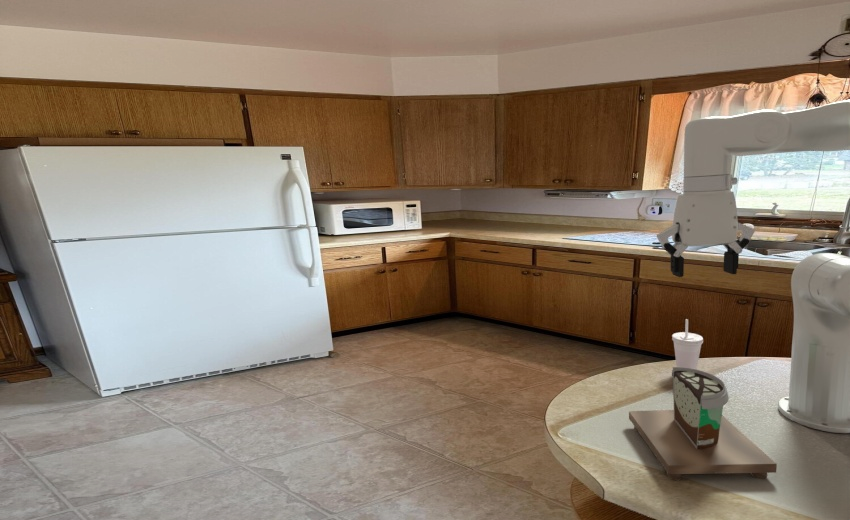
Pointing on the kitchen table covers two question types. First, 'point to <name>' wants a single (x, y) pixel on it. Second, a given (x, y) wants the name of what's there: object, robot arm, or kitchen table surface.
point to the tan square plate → (684, 457)
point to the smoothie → (687, 348)
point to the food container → (698, 405)
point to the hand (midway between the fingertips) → (703, 274)
